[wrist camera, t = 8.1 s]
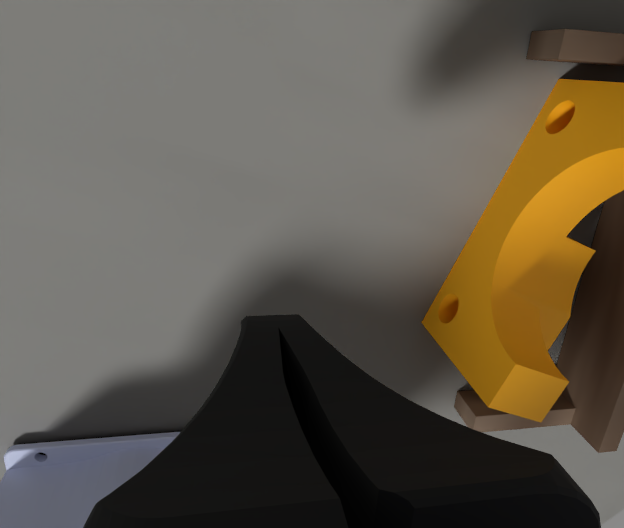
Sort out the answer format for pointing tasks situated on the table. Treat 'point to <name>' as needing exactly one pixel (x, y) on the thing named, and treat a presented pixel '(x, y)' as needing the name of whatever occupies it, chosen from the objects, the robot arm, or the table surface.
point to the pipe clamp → (531, 251)
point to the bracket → (582, 296)
